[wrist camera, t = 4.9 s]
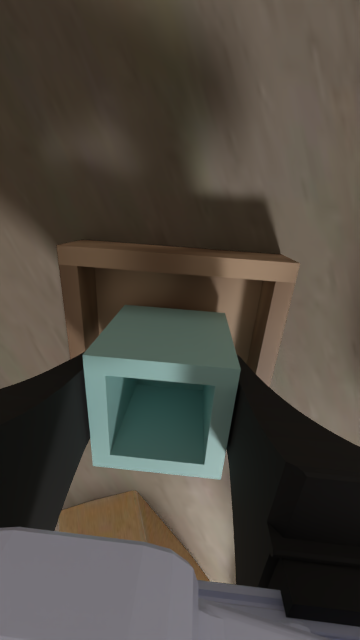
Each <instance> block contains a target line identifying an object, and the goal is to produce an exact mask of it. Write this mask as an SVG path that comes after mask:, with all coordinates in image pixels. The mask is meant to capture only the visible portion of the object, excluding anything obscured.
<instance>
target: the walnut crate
mask: <svg viewBox="0 0 360 640" xmlns="http://www.w3.org/2000/svg"><path fill="white" fill-rule="evenodd" d="M56 246H57V254H58V262H59V270H60V278H61V286H62V294H63V302H64V310H65V319H66V327H67V335H68V343H69V351H70V359H72V358H74V357H76V356H78V355H80V354H81V353H83V352H85V351H86V350H87V349H88V348H89V347H90V345H91V344H92V343H93V342H94V341H95V339H96V338H97V337H98V336H99V335H100V334H101V332H102V331H103V330H104V329H105V328H106V326H107V325H108V324H109V323H110V322H111V321H112V319H113V318H114V317H115V316H116V315H117V313H118V312H119V311H120V310H121V309H122V308H123V306H124V305H134V306H146V307H159V308H171V309H183V310H195V311H207V312H219V313H225V315H226V319H227V322H228V326H229V329H230V333H231V336H232V340H233V343H234V347H235V351H236V354H237V355H239V356H240V357H241V358H242V360H243V361H244V362H245V363H246V364H247V365H248V366H249V367H250V368H251V369H252V371H253V372H254V373H255V374H256V375H257V376H258V377H259V378H260V379H261V380H262V381H263V382H264V383H265V384H266V385H267V386H268V387H270V384H271V379H272V375H273V371H274V367H275V363H276V359H277V355H278V351H279V347H280V343H281V339H282V335H283V331H284V327H285V323H286V319H287V315H288V311H289V307H290V303H291V299H292V295H293V291H294V286H295V282H296V278H297V274H298V270H299V266H300V263H298V262H296V261H294V260H292V259H290V258H288V257H286V256H283V255H281V254H268V253H255V252H241V251H228V250H214V249H200V248H187V247H173V246H160V245H146V244H133V243H119V242H105V241H92V240H79V241H74V242H69V243H65V244H60V245H56Z"/></svg>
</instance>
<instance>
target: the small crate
mask: <svg viewBox="0 0 360 640" xmlns="http://www.w3.org/2000/svg"><path fill="white" fill-rule="evenodd" d="M82 356H83V367H84V377H85V387H86V398H87V408H88V418H89V428H90V439H91V449H92V459H93V466H100V467H109V468H118V469H127V470H137V471H146V472H155V473H165V474H174V475H183V476H192V477H202V478H211V479H220V480H221V475H222V470H223V464H224V459H225V453H226V448H227V442H228V437H229V431H230V426H231V420H232V415H233V409H234V404H235V398H236V393H237V387H238V382H239V376H240V371H241V368H240V365H239V361H238V358H237V354H236V351H235V347H234V343H233V340H232V336H231V333H230V329H229V326H228V322H227V319H226V315H225V313H219V312H207V311H195V310H183V309H171V308H159V307H146V306H134V305H124V306H123V308H122V309H121V310H120V311H119V312H118V313H117V315H116V316H115V317H114V318H113V319H112V321H111V322H110V323H109V324H108V325H107V326H106V328H105V329H104V330H103V331H102V332H101V334H100V335H99V336H98V337H97V338H96V339H95V341H94V342H93V343H92V344H91V345H90V347H89V348H88V349H87V350H86V351H85V352H84V354H83V355H82Z"/></svg>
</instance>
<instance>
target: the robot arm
mask: <svg viewBox="0 0 360 640" xmlns="http://www.w3.org/2000/svg"><path fill="white" fill-rule="evenodd" d="M83 354H84V352H83V353H81V354H80V355H78V356H76V357H74V358H72V359H70V360H69V361H67V362H65V363H63V364H61V365H59V366H57V367H55V368H53V369H51V370H49V371H46V372H44V373H42V374H40V375H37V376H35V377H33V378H30V379H28V380H25V381H23V382H20V383H17V384H14V385H11V386H8V387H5V388H2V389H0V640H360V447H359V446H357V445H355V444H353V443H351V442H349V441H347V440H345V439H343V438H342V437H340V436H338V435H336V434H334V433H332V432H331V431H329V430H327V429H326V428H324V427H322V426H321V425H319V424H317V423H316V422H314V421H313V420H311V419H310V418H308V417H307V416H305V415H304V414H302V413H301V412H299V411H298V410H296V409H295V408H294V407H292V406H291V405H290V404H289V403H287V402H286V401H285V400H283V399H282V398H281V397H280V396H278V395H277V394H276V393H275V392H274V391H273V390H272V389H271V388H270V387H268V386H267V385H266V384H265V383H264V382H263V381H262V380H261V379H260V378H259V377H258V376H257V375H256V374H255V373H254V372H253V371H252V369H251V368H250V367H249V366H248V365H247V364H246V363H245V362H244V361H243V360H242V358H241V357H240V356H239V355H237V358H238V361H239V365H240V368H241V371H240V376H239V382H238V387H237V393H236V398H235V404H234V409H233V415H232V420H231V426H230V431H229V437H228V442H227V454H228V461H229V469H230V482H231V495H232V510H233V525H234V544H235V563H236V585H234V584H226V583H218V582H210V581H202V580H197V578H196V575H195V572H194V569H193V567H192V566H191V565H190V563H189V562H188V561H186V560H185V559H184V558H182V557H181V556H179V555H178V554H177V553H175V552H174V551H173V550H171V549H169V548H165V547H162V546H158V545H154V544H151V543H147V542H142V541H134V540H125V539H117V538H108V537H100V536H92V535H83V534H75V533H66V532H58V531H54V530H55V527H56V524H57V521H58V519H59V516H60V513H61V510H62V507H63V504H64V501H65V499H66V496H67V493H68V491H69V488H70V485H71V483H72V480H73V477H74V475H75V472H76V470H77V467H78V464H79V462H80V459H81V457H82V454H83V452H84V450H85V448H86V445H87V443H88V441H89V439H90V428H89V418H88V408H87V398H86V387H85V377H84V367H83V356H82V355H83Z"/></svg>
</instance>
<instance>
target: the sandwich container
mask: <svg viewBox="0 0 360 640" xmlns="http://www.w3.org/2000/svg"><path fill="white" fill-rule="evenodd" d="M58 524H59V532H66V533H75V534H83V535H92V536H100V537H108V538H117V539H125V540H134V541H142V542H147V543H151V544H154V545H158V546H162V547H165V548H169V549H171V550H173V551H174V552H175V553H177V554H178V555H179V556H181V557H182V558H184V559H185V560H186V561H188V562H189V563H190V565H191V566H192V567H193V569H194V572H195V575H196V578H197V580H202V581H209V580H208V578H207V577H206V575H205V574H204V573H203V571H202V570H201V569H200V567H199V566H198V565H197V563H196V562H195V561H194V559H193V558H192V557H191V555H190V554H189V553H188V551H187V550H186V549H185V548H184V547H183V545H182V544H181V543H180V542H179V541H178V539H177V538H176V537H175V536H174V535H173V534H172V532H171V531H170V530H169V529H168V528H167V526H166V525H165V524H164V523H163V522H162V521H161V519H160V518H159V517H158V516H157V515H156V513H155V512H154V511H153V510H152V509H151V508H150V506H149V505H148V504H147V503H146V502H145V500H144V499H143V498H142V497H141V496H140V495H139V493H138V492H137V491H129V492H125V493H121V494H117V495H113V496H109V497H105V498H101V499H97V500H93V501H90V502H87V503H84V504H80V505H77V506H74V507H71V508H68V509H65V510H61V513H60V516H59V519H58Z"/></svg>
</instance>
